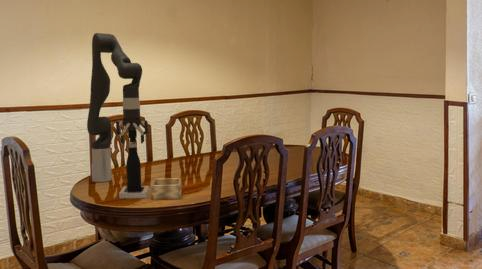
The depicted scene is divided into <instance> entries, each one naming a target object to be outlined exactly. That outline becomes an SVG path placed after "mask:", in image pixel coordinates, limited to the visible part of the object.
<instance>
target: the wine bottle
mask: <svg viewBox="0 0 482 269" xmlns="http://www.w3.org/2000/svg"><path fill="white" fill-rule="evenodd" d="M127 136H128V137H127V138H128V139H129V143H128V145H129V146H128V154H127V158H126V163H125V164H126V168H125V169H126V186H127V192H142V191H141V186H142V169H141V167H142V166H141V165H142V164H141V160H140V157H139V154H138V147H137V143H136V139H137V137H138V130H127Z"/></svg>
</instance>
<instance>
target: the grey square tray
mask: <svg viewBox="0 0 482 269" xmlns="http://www.w3.org/2000/svg"><path fill="white" fill-rule="evenodd" d="M141 191H142V192H127V185H126V186H122V188H121V190H120V191H119V193H118V196H119V198H118V199H120V200H121V199H124V198H126V199H146V198H148V194H149V192H150V185H141ZM124 200H125V199H124Z"/></svg>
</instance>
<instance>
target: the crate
mask: <svg viewBox="0 0 482 269" xmlns="http://www.w3.org/2000/svg"><path fill="white" fill-rule="evenodd" d="M150 193H151V194H150V196H151V198H150V199H151V200H152V201H156V200H158V201H159V200H181V199H182V178H180V177H177V178H153V179H152V182H151V185H150Z"/></svg>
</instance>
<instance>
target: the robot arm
mask: <svg viewBox="0 0 482 269" xmlns="http://www.w3.org/2000/svg"><path fill="white" fill-rule="evenodd" d="M102 53H106V54H110V53H111V55H110V60H111V62H112V64H113V65H114V66H115V67H116V69H117V74H118V77H119V78H121V79H123V80H131V79H132V80H131V82H130V83H126V84H124V85H123V86H122V120H117V121H116V122H115V134H116V135H118V136H120V142H121V144H124V145H125V133H126V132H127V131H128V130H136V131H137V132H139V134H140V144H143V143H145V135H147V134H148V133H149V125H148V120H147V119H145V120H142V119H141V102H140V84H141V80H142V76H143V67H142V65H141V64H140V63H138V62H132V60H131V59H130V58H129V56H127V54H126V53H125V51H124V50H123V48H122V46H121V44H120V43H119V41H118V39H117V37H116V35H114V34H110V33H101V32H96V33H94V34H93V36H92V38H91V59H92V60H91V61H92V65H91V79H90V96H89V97H90V99H89V109H88V115H87V120H86V122H87V123H86V126H87V127H86V128H87V129H86V130H87V132H88V135H90V136H94V137H95V136H98V138H97V139H95V140H94V141H92V142H91V182H92V183H93V182H95V183H104V182H105V183H106V182H107V183H108V182H110V181H112V180H113V179H112V176H113V174H112V159H111V158H112V156H111V144H112V123H111V120H110V118H109V117H108V116H100V112H101V109H102V107H103V105H104V103H105V102H106V100H107V99H108V97H109V95H110V91H111V77H110V75H109V74H108V72H107V70H106V68H105V66H104V64H103V62H102ZM141 124H142V125H143V126H144V130H143V129H142V128H141ZM121 125H123V127H124V128H123V129H122V130H121V131H120V128H121Z"/></svg>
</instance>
